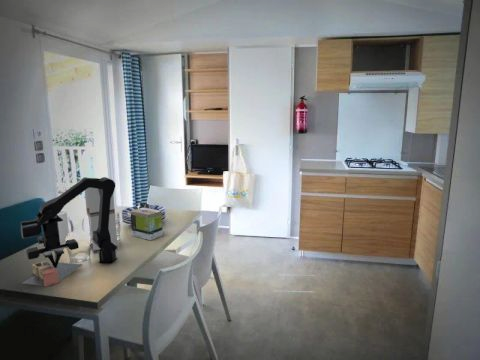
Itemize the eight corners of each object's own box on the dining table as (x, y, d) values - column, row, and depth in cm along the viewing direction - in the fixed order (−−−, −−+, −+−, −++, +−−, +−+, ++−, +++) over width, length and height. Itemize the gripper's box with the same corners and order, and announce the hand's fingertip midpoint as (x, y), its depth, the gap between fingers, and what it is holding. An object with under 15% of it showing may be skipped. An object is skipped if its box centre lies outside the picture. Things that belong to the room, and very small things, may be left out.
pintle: (47, 271, 149) (46, 261, 148) (44, 272, 147) (43, 262, 146) (44, 270, 149) (42, 261, 148) (41, 272, 148) (40, 262, 147)
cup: (62, 243, 181) (59, 214, 178) (49, 242, 183) (45, 214, 180) (73, 238, 189) (70, 210, 186) (60, 237, 191) (56, 209, 187)
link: (59, 279, 142) (58, 270, 141) (46, 284, 138) (44, 274, 137) (46, 268, 151) (45, 260, 150) (33, 273, 147) (32, 264, 146)
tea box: (163, 235, 193) (162, 210, 190) (150, 241, 185) (148, 214, 182) (144, 230, 201) (143, 206, 198) (131, 235, 193) (129, 210, 190)
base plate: (83, 265, 155) (83, 264, 155) (51, 287, 136) (51, 286, 136) (55, 263, 158) (55, 262, 158) (21, 284, 139) (21, 283, 138)
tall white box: (112, 242, 182) (107, 178, 175) (117, 249, 174) (112, 182, 167) (90, 247, 176) (83, 181, 169) (93, 254, 168) (87, 184, 161)
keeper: (58, 284, 139) (57, 271, 138) (45, 288, 136) (43, 274, 135) (56, 280, 142) (54, 267, 141) (42, 283, 139) (41, 270, 138)
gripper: (70, 223, 154) (74, 255, 157) (22, 232, 143) (27, 267, 146) (77, 230, 145) (80, 264, 148) (25, 240, 134) (30, 276, 137)
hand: (55, 267), depth 145 cm, fingers closed
